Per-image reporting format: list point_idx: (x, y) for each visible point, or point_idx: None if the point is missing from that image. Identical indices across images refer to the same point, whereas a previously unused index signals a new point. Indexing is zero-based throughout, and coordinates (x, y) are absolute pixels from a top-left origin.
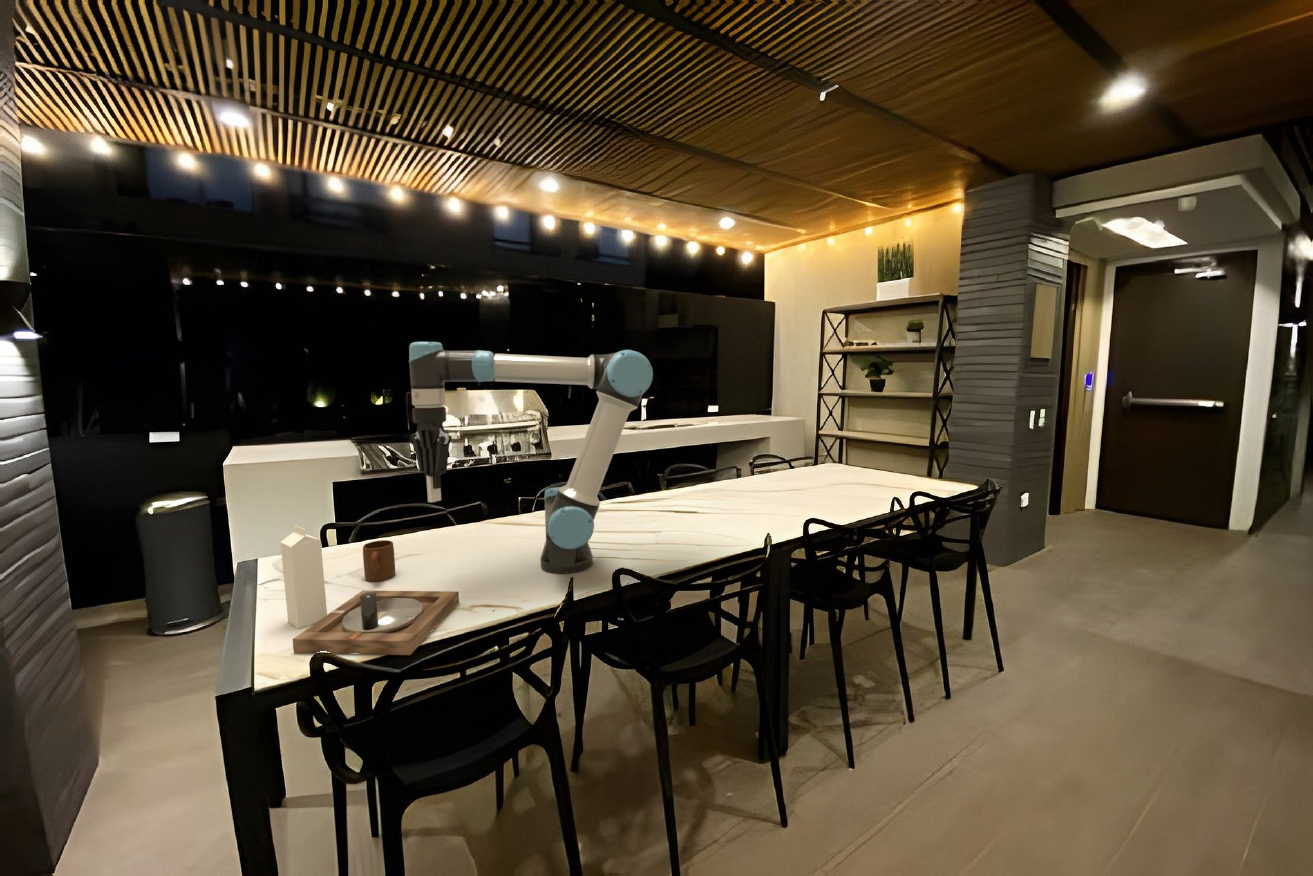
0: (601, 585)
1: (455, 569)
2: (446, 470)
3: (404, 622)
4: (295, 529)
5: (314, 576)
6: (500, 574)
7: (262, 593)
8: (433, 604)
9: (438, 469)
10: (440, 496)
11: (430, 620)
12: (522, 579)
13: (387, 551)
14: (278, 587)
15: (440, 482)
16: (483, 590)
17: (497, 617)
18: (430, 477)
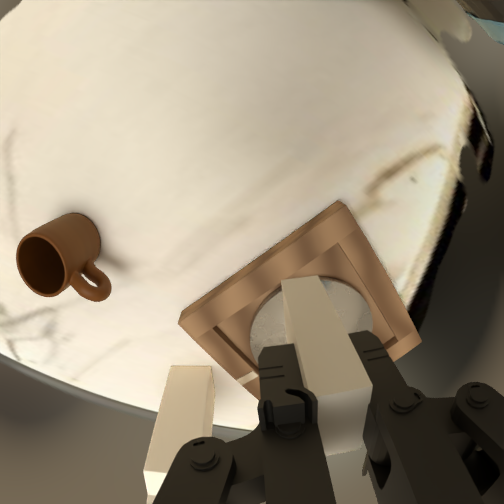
0: (460, 11)
1: (149, 102)
2: (496, 392)
3: (372, 328)
4: (153, 500)
5: (206, 430)
6: (268, 50)
7: (51, 372)
8: (357, 269)
9: (480, 460)
10: (323, 289)
11: (400, 299)
12: (336, 43)
13: (71, 254)
14: (38, 354)
15: (389, 357)
16: (321, 129)
17: (435, 193)
18: (359, 440)
